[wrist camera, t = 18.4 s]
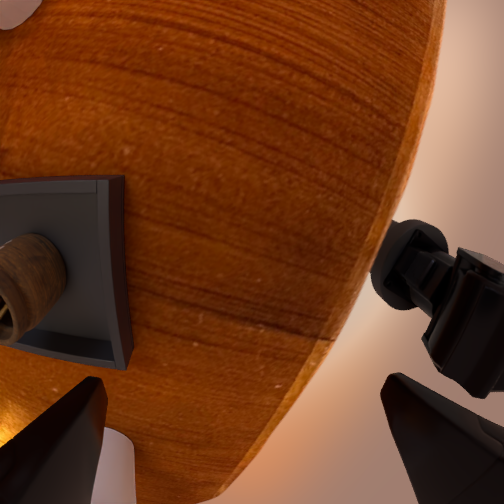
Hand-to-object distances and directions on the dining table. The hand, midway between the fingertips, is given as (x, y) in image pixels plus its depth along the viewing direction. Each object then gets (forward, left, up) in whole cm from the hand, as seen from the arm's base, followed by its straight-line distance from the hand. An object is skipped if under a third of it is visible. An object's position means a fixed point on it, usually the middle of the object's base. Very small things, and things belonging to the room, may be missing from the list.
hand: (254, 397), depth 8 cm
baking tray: (+13, +8, -13) cm, 20 cm away
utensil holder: (+13, +8, -13) cm, 20 cm away
